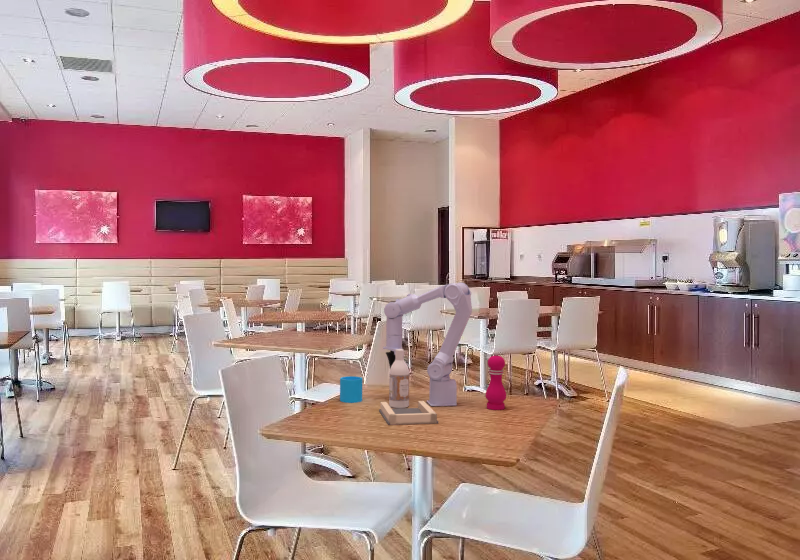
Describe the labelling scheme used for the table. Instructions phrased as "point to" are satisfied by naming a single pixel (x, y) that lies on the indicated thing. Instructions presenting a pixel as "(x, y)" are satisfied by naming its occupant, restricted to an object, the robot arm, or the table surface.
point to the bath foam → (399, 382)
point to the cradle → (408, 414)
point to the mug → (351, 389)
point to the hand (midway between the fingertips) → (393, 371)
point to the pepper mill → (496, 383)
